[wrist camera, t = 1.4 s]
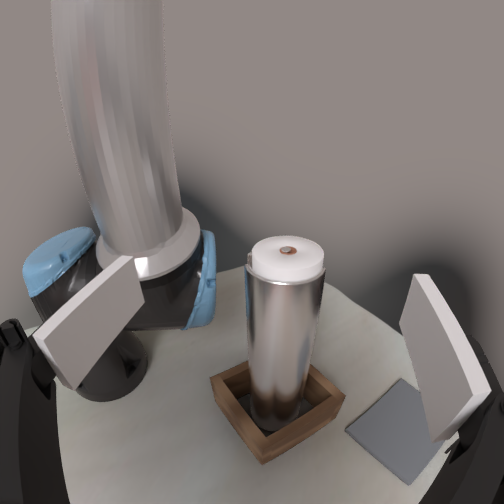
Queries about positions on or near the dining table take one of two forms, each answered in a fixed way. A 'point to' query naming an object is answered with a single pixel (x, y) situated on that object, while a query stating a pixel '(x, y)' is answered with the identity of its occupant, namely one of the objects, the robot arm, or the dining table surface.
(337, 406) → the square wooden frame
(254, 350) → the shiny metal cylinder
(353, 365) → the dining table surface
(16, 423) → the robot arm
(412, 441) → the mat
